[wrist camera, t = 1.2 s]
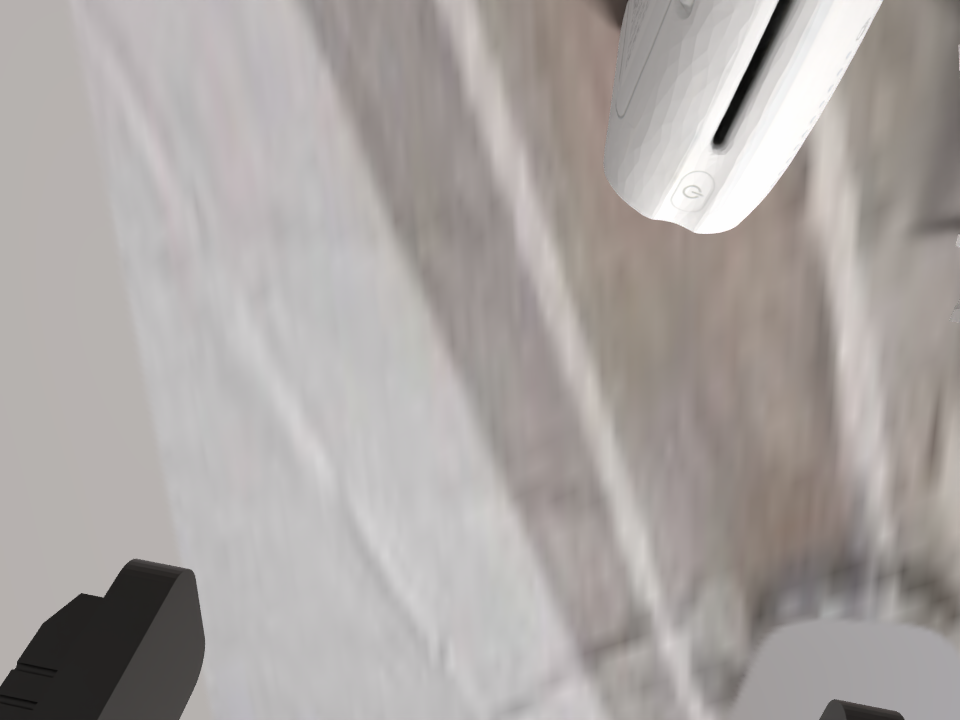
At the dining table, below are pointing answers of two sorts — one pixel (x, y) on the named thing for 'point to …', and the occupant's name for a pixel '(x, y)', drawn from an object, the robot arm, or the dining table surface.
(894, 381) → the dining table surface
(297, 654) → the dining table surface
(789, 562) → the dining table surface
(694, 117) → the photo printer
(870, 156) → the dining table surface
